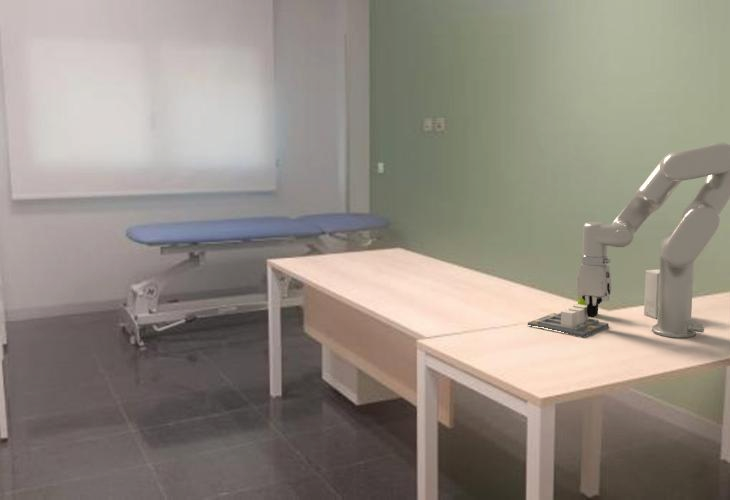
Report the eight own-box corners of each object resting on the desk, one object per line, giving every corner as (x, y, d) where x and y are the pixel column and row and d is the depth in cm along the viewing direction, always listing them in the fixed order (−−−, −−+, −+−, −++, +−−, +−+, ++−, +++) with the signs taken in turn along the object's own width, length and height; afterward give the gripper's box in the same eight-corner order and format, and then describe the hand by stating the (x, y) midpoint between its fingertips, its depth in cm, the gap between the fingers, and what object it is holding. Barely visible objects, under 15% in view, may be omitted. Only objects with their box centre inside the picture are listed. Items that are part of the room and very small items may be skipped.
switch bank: (608, 326, 221) (608, 320, 221) (583, 337, 211) (583, 331, 210) (554, 316, 236) (554, 310, 236) (527, 326, 225) (527, 320, 225)
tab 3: (588, 320, 224) (589, 305, 223) (584, 322, 222) (584, 307, 221) (577, 318, 227) (577, 304, 226) (572, 320, 225) (573, 305, 224)
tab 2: (584, 324, 220) (584, 309, 220) (579, 325, 218) (579, 310, 218) (572, 321, 223) (573, 307, 223) (568, 323, 221) (568, 308, 221)
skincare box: (655, 319, 229) (657, 273, 226) (642, 314, 235) (644, 270, 233) (676, 316, 231) (678, 271, 229) (663, 312, 237) (664, 268, 235)
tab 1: (576, 326, 217) (577, 311, 217) (571, 328, 215) (572, 313, 215) (565, 324, 220) (565, 309, 220) (560, 326, 218) (560, 311, 218)
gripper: (622, 261, 215) (619, 318, 218) (578, 256, 226) (577, 310, 229) (610, 265, 210) (608, 323, 213) (567, 259, 221) (565, 314, 224)
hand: (592, 316), depth 221 cm, fingers closed
